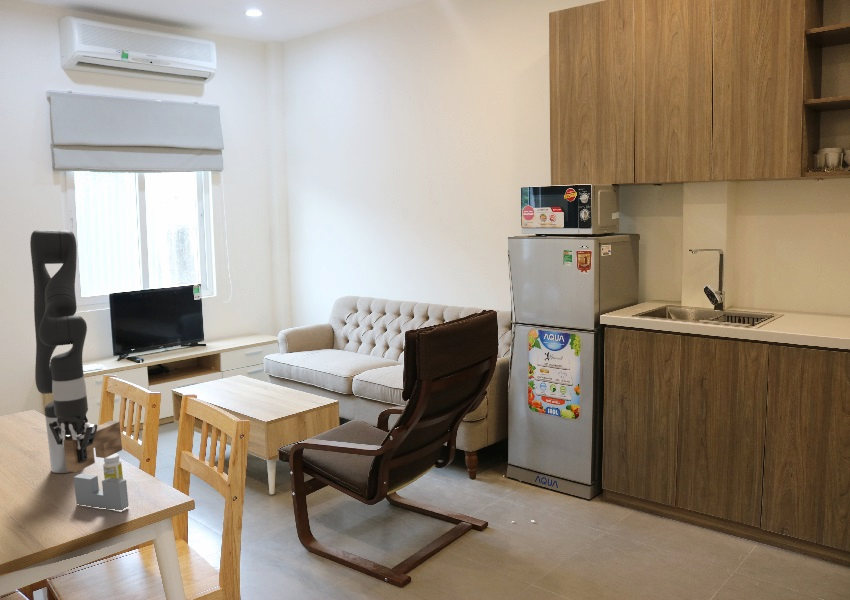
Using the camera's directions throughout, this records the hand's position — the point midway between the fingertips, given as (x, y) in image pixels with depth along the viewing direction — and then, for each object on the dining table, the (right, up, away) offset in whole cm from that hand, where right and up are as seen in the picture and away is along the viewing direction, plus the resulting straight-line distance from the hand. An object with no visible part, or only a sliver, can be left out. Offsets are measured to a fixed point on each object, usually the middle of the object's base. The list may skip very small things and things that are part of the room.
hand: (76, 461), depth 182 cm
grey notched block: (+3, -14, +8) cm, 16 cm away
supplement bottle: (-1, -12, +24) cm, 26 cm away
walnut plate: (+2, -1, +6) cm, 6 cm away
